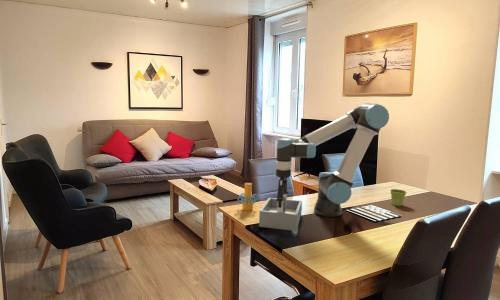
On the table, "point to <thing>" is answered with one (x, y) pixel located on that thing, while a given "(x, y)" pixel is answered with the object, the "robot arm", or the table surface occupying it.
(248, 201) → the yellow and blue post
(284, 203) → the peg
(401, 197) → the plant pot
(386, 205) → the table surface
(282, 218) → the box
